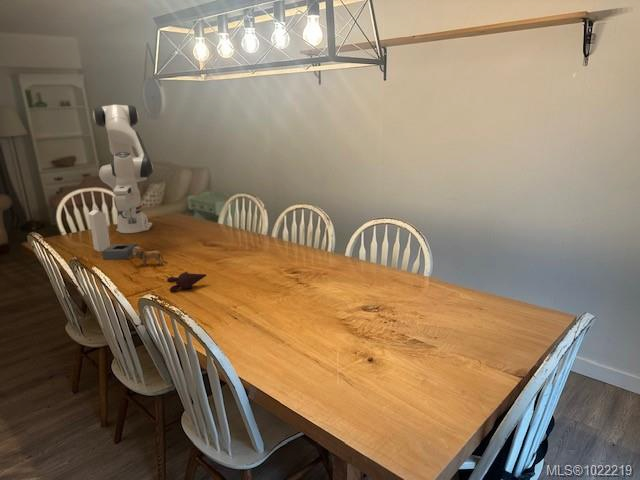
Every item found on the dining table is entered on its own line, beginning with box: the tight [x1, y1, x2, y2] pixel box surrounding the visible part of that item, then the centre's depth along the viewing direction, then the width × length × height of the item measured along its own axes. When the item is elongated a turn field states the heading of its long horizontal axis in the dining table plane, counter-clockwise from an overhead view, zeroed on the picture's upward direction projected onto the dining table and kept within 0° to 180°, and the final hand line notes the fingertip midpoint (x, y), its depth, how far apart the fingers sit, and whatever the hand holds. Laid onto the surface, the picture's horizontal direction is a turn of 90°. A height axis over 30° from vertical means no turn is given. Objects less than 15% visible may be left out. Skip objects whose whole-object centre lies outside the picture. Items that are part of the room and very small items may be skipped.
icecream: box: [166, 270, 207, 293], centre depth 179 cm, size 7×7×15 cm
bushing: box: [127, 206, 137, 224], centre depth 218 cm, size 4×4×8 cm
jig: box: [101, 243, 139, 260], centre depth 221 cm, size 12×13×4 cm
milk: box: [87, 206, 111, 253], centre depth 228 cm, size 6×6×22 cm
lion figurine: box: [133, 246, 169, 267], centre depth 206 cm, size 15×5×9 cm, turn 96°
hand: (131, 216), depth 218 cm, fingers closed on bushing, 4 cm apart
